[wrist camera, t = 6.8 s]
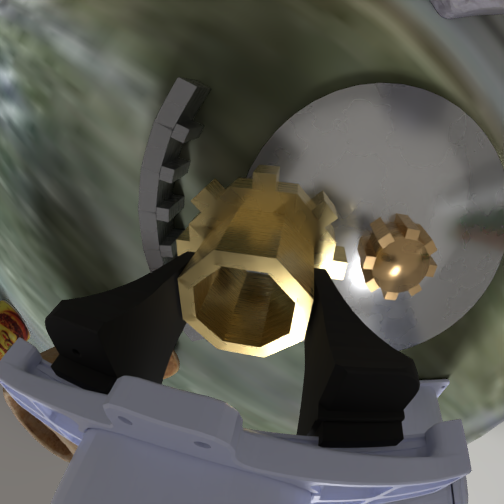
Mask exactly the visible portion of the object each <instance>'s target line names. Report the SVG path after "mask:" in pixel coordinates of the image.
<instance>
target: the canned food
mask: <svg viewBox="0 0 504 504" xmlns="http://www.w3.org/2000/svg"><path fill="white" fill-rule="evenodd" d="M30 336H31V334H30V331H29V328H28V326H27V324H26V323H25V321H24V320H23V318H22V317H21V315H20V314H19V313H18V311H17V310H16V309H15V308H14V307H13V306H12V305H11V304H10V303H9V302H7V301H5V300H1V301H0V360H1V359H2V357H3V356H4V355H5V354H6V353H7V351H8V350H9V349H10V348H11V346H12V345H13V344H14V343H15V342H16V341H17V339H18V338H22V339H23V340H25V341H28V339H29V338H30Z"/></svg>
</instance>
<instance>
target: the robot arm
mask: <svg viewBox="0 0 504 504" xmlns="http://www.w3.org/2000/svg"><path fill="white" fill-rule="evenodd" d="M194 254H195V252H190V251H187V252H185V253H183V254H181V255H180V256H178V257H176V258H175V259H173V260H171V261H170V262H168V263H166V264H165V265H163V266H161V267H160V268H158V269H156V270H154V271H152V272H151V273H149V274H147V275H145V276H143V277H141V278H139V279H137V280H135V281H133V282H131V283H128V284H126V285H123V286H121V287H118V288H115V289H112V290H109V291H106V292H103V293H99V294H95V295H91V296H87V297H82V298H75V299H69V300H62V301H61V302H60V303H59V304H58V305H57V306H56V307H55V308H54V309H53V311H52V312H51V313H50V314H49V315H48V316H47V317H46V319H45V325H46V330H47V332H48V334H49V336H50V338H51V340H52V342H53V344H54V346H55V347H56V349H57V351H58V353H59V355H58V357H57V358H56V360H55V361H54V362H53V364H51V363H50V362H48V361H46V360H44V359H42V356H41V354H40V353H39V351H38V350H37V348H36V347H35V346H33V345H32V344H30V343H29V342H27V341H25V340H23V339H22V338H18V339H17V341H16V342H15V343H14V344H13V345H12V346H11V348H10V349H9V350H8V351H7V353H6V354H5V355H4V356H3V357H2V359H1V360H0V383H1V385H2V386H3V387H4V388H5V390H6V391H7V392H8V393H9V394H10V395H11V397H12V398H13V399H14V400H15V401H16V402H17V403H18V404H19V405H20V406H21V407H23V408H24V409H25V410H27V411H28V412H29V413H31V414H32V415H33V416H35V417H36V418H38V419H39V420H40V421H42V422H43V423H44V424H46V425H47V426H49V427H50V428H51V429H53V430H54V431H56V432H57V433H59V434H60V435H62V436H63V437H65V438H66V439H68V440H69V441H71V442H72V443H74V444H76V445H77V446H78V447H77V449H76V451H75V453H74V455H73V457H72V459H71V461H70V463H69V465H68V467H67V469H66V471H65V473H64V476H63V477H62V480H61V482H60V484H59V486H58V488H57V490H56V492H55V494H54V497H53V499H52V501H51V503H50V504H468V490H467V480H466V475H467V474H469V473H470V472H471V465H470V459H469V454H468V448H467V443H466V438H465V433H464V429H463V425H462V421H461V419H457V420H451V421H444V422H443V420H442V416H441V412H440V407H439V403H438V399H437V398H438V396H439V395H440V394H441V393H442V392H443V391H444V389H445V388H446V387H447V386H448V385H449V383H450V381H449V379H438V380H419V377H418V373H417V369H416V366H415V364H414V361H413V360H412V359H411V358H409V357H407V356H406V355H404V354H402V353H401V352H399V351H397V350H396V349H394V348H393V347H392V346H390V345H389V344H387V343H386V342H385V341H383V340H382V339H381V338H380V337H378V336H377V335H376V334H375V333H374V332H373V331H372V330H371V329H369V328H368V327H367V326H366V325H365V324H364V323H363V322H362V320H361V319H360V318H359V317H358V316H357V315H356V314H355V313H354V312H353V310H352V309H351V308H350V306H349V305H348V304H347V302H346V301H345V300H344V298H343V297H342V295H341V294H340V292H339V290H338V289H337V287H336V286H335V284H334V282H333V281H332V279H331V277H330V275H329V273H328V272H327V270H326V269H320V268H314V300H313V305H312V309H311V313H310V317H309V321H308V325H307V329H306V333H305V337H304V343H305V373H304V384H303V393H302V401H301V409H300V416H299V423H298V429H297V435H291V434H281V433H273V432H265V431H258V430H252V429H246V428H242V423H243V419H242V418H241V416H240V414H239V412H238V411H237V410H236V409H235V408H233V407H232V406H230V405H229V404H227V403H226V402H224V401H221V400H218V399H215V398H212V397H209V396H205V395H200V394H196V393H192V392H188V391H184V390H180V389H176V388H172V387H169V386H165V385H162V381H163V377H164V374H165V371H166V369H167V366H168V363H169V360H170V357H171V355H172V352H173V349H174V347H175V345H176V342H177V340H178V338H179V336H180V334H181V333H182V331H183V329H184V327H185V325H186V323H187V322H186V321H185V320H183V316H182V309H181V302H180V294H179V286H178V277H179V276H180V274H181V273H182V271H183V270H184V268H185V267H186V266H187V264H188V263H189V261H190V260H191V258H192V257H193V255H194Z"/></svg>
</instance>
